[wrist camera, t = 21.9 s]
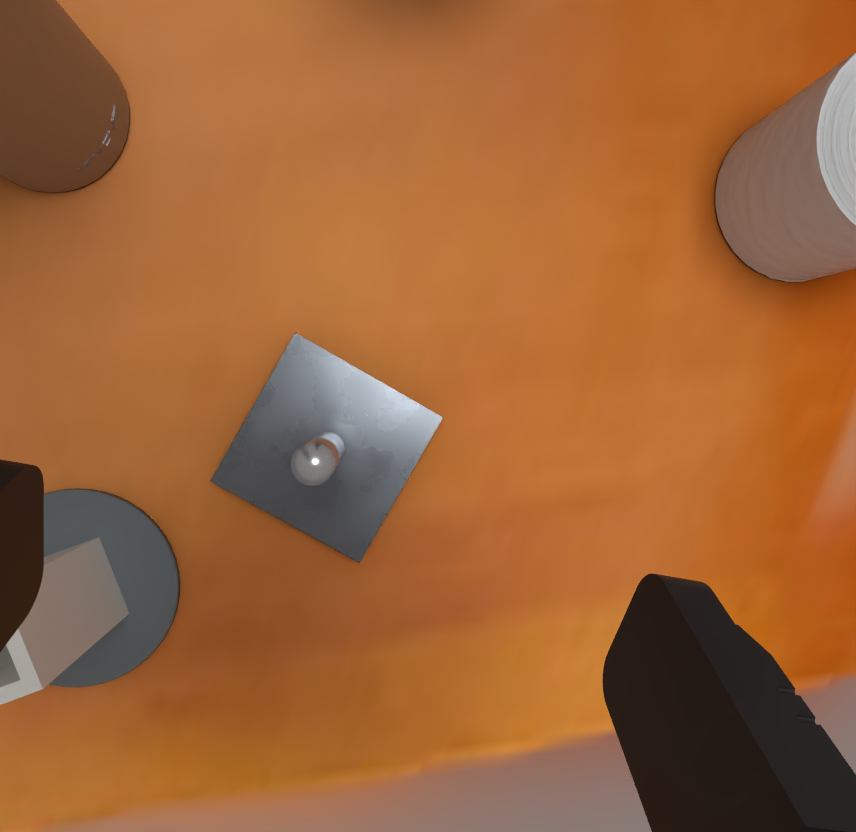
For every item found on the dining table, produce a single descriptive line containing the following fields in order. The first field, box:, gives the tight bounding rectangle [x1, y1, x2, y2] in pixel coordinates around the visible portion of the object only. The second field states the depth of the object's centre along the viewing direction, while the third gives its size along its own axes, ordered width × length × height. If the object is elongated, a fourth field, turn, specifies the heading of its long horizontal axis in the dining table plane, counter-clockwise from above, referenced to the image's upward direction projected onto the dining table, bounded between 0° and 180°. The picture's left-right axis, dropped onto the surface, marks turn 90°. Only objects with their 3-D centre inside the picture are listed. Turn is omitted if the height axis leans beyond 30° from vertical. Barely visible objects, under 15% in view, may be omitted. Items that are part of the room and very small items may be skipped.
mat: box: [44, 489, 180, 687], centre depth 40 cm, size 12×12×1 cm
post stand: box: [211, 333, 443, 563], centre depth 36 cm, size 10×10×10 cm
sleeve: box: [0, 537, 129, 705], centre depth 34 cm, size 5×5×10 cm
